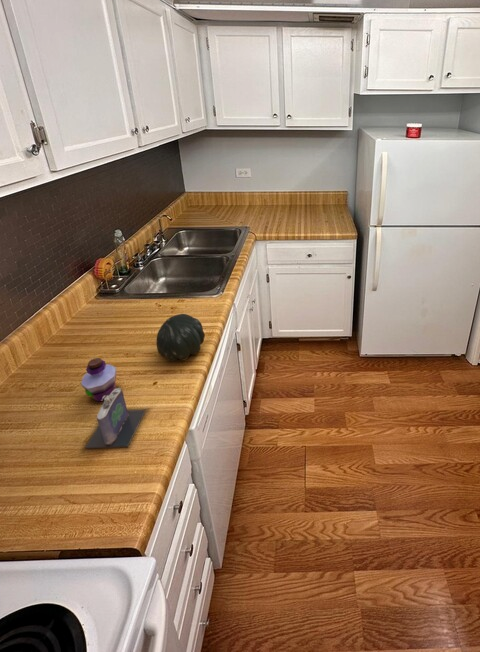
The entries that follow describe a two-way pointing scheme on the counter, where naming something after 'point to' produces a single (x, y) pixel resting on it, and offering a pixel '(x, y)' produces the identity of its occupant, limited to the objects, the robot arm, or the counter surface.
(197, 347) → the squash
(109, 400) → the flask
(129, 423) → the slate coaster
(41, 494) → the counter surface
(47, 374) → the counter surface
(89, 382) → the potion bottle
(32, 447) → the counter surface
